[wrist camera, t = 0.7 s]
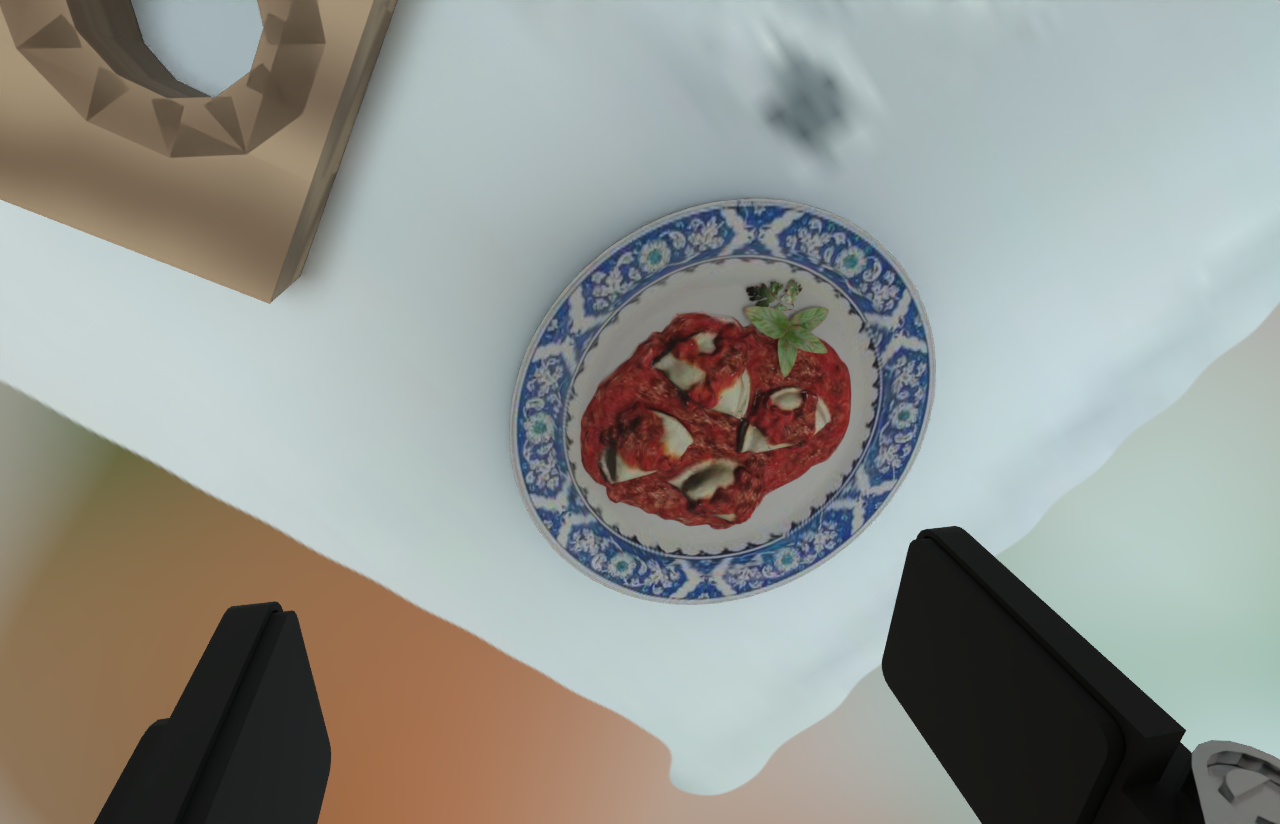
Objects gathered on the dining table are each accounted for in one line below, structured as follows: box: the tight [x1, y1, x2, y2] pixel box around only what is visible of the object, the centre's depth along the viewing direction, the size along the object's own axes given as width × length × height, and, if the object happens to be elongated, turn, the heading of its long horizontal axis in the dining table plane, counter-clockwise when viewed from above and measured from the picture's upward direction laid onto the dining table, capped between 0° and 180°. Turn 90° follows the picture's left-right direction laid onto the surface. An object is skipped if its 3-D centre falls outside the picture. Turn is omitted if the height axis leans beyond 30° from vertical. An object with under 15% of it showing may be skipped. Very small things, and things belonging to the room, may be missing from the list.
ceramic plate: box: [510, 198, 936, 605], centre depth 39 cm, size 26×26×3 cm
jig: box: [0, 0, 397, 304], centre depth 25 cm, size 18×12×6 cm, turn 152°
